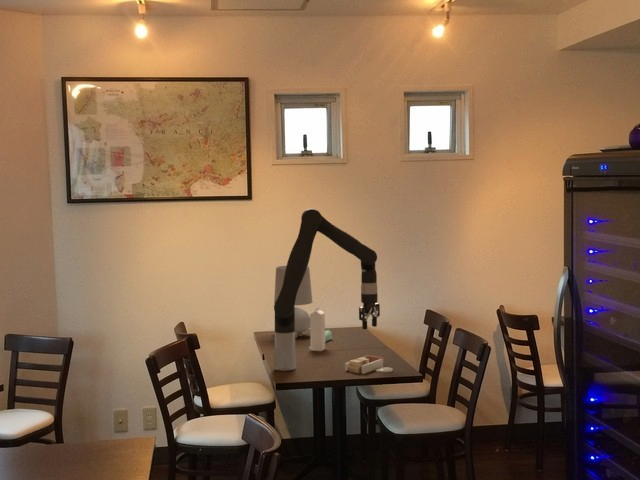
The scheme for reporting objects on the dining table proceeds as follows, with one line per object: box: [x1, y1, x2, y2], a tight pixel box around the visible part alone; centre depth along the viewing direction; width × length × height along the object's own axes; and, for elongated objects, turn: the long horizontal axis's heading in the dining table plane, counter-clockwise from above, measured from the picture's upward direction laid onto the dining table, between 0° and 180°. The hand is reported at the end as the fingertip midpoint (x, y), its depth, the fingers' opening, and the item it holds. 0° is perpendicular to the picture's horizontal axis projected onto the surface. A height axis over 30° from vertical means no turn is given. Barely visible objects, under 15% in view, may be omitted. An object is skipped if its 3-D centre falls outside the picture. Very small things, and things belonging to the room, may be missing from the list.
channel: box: [344, 354, 385, 375], centre depth 320 cm, size 17×10×4 cm, turn 142°
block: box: [348, 357, 369, 374], centre depth 316 cm, size 8×5×5 cm, turn 139°
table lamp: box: [273, 264, 313, 338], centre depth 397 cm, size 23×22×40 cm
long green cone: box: [308, 329, 333, 351], centre depth 374 cm, size 5×6×27 cm
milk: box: [309, 306, 326, 352], centre depth 360 cm, size 6×6×22 cm
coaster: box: [374, 366, 394, 374], centre depth 315 cm, size 8×8×1 cm
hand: (369, 327), depth 323 cm, fingers open, 7 cm apart
